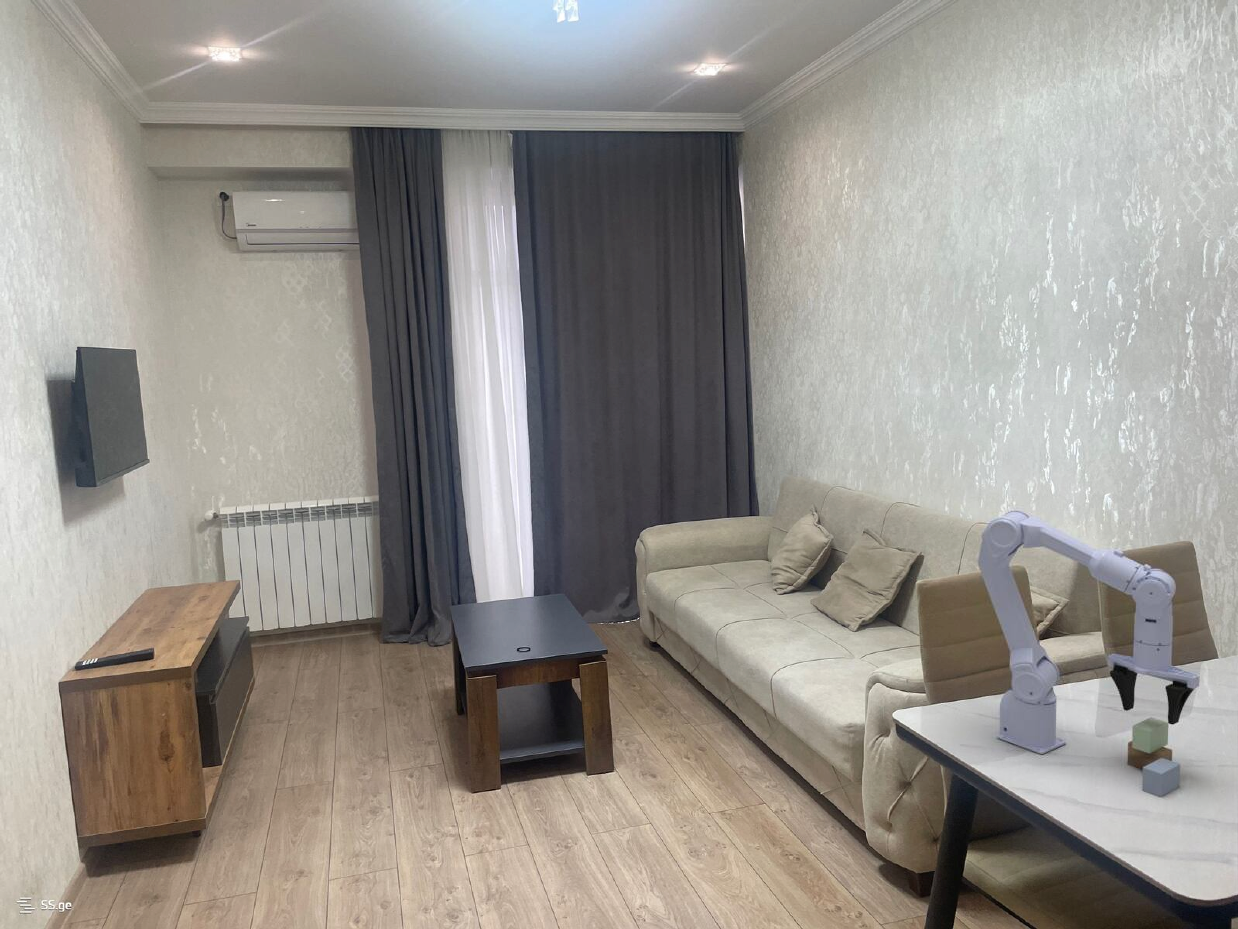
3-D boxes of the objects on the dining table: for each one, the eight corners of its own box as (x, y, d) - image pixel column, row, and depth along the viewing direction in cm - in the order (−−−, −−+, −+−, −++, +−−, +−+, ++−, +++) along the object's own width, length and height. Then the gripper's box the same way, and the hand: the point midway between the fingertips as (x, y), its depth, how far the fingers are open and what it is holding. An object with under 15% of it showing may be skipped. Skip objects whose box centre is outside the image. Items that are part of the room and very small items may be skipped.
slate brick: (1160, 797, 148) (1161, 774, 147) (1142, 790, 150) (1142, 767, 150) (1179, 786, 151) (1180, 764, 150) (1161, 780, 153) (1161, 757, 153)
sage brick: (1150, 738, 160) (1150, 717, 160) (1167, 744, 158) (1168, 722, 157) (1132, 747, 157) (1132, 725, 157) (1149, 753, 155) (1150, 731, 154)
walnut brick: (1127, 764, 160) (1128, 742, 159) (1136, 759, 161) (1137, 738, 161) (1162, 776, 155) (1163, 754, 154) (1171, 771, 156) (1172, 749, 156)
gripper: (1098, 635, 159) (1096, 708, 161) (1185, 656, 147) (1182, 735, 149) (1120, 627, 163) (1118, 699, 165) (1206, 647, 151) (1203, 724, 152)
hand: (1150, 715), depth 157 cm, fingers open, 7 cm apart
